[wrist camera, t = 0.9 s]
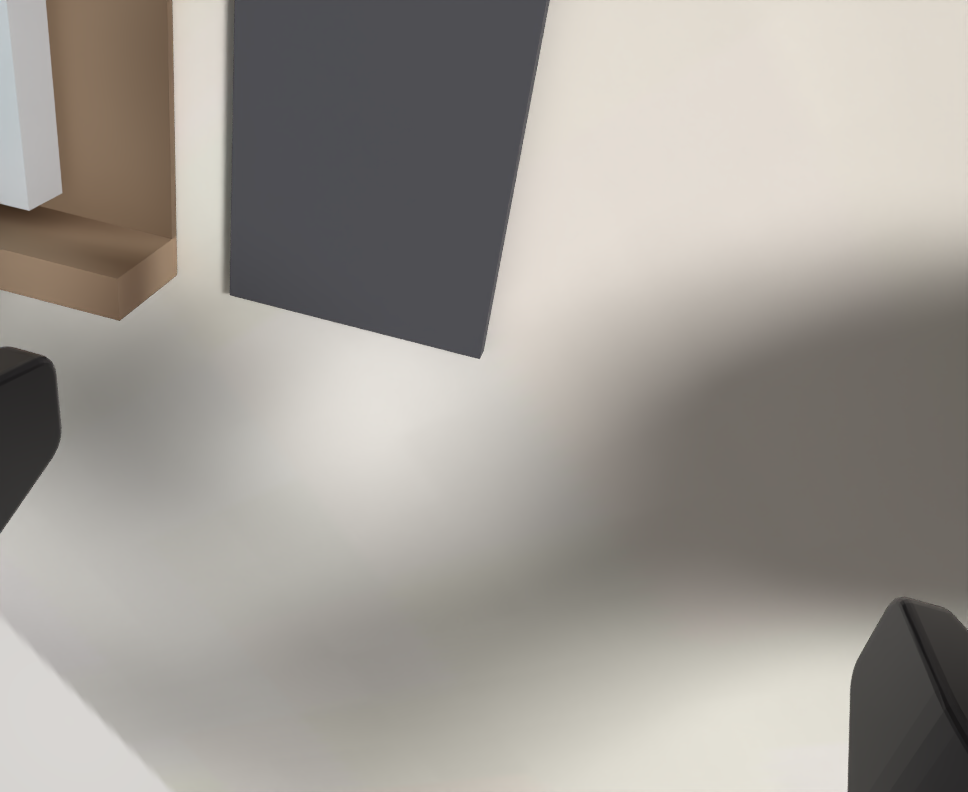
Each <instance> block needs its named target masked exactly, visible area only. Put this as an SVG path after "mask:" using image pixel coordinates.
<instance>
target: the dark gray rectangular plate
mask: <svg viewBox="0 0 968 792" xmlns="http://www.w3.org/2000/svg"><path fill="white" fill-rule="evenodd" d="M549 1H550V0H235V14H234V75H233V135H232V196H231V257H230V295H231V296H235V297H239V298H243V299H247V300H251V301H255V302H259V303H263V304H267V305H270V306H274V307H278V308H282V309H286V310H290V311H294V312H298V313H302V314H306V315H310V316H313V317H317V318H321V319H325V320H329V321H333V322H337V323H341V324H345V325H349V326H353V327H357V328H360V329H364V330H368V331H372V332H376V333H380V334H384V335H388V336H392V337H396V338H400V339H403V340H407V341H411V342H415V343H419V344H423V345H427V346H431V347H435V348H439V349H443V350H447V351H450V352H454V353H458V354H462V355H466V356H470V357H474V358H478V359H480V357H481V355H482V353H483V351H484V346H485V340H486V335H487V330H488V324H489V319H490V314H491V309H492V303H493V298H494V293H495V287H496V282H497V277H498V271H499V266H500V261H501V256H502V250H503V245H504V240H505V234H506V229H507V224H508V218H509V213H510V208H511V202H512V197H513V192H514V187H515V181H516V176H517V171H518V165H519V160H520V155H521V149H522V144H523V139H524V133H525V128H526V123H527V118H528V112H529V107H530V102H531V96H532V91H533V86H534V80H535V75H536V70H537V65H538V59H539V54H540V49H541V43H542V38H543V33H544V27H545V22H546V17H547V11H548V6H549Z"/></svg>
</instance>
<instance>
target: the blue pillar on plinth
mask: <svg viewBox="0 0 968 792" xmlns="http://www.w3.org/2000/svg"><path fill="white" fill-rule="evenodd" d="M60 194H62V182H61V171H60V159H59V148H58V136H57V125H56V113H55V102H54V90H53V79H52V67H51V56H50V44H49V33H48V21H47V10H46V0H0V204H4V205H8V206H12V207H16V208H20V209H24V210H28V211H30V210H32V209H34V208H35V207H37V206H39V205H41V204H43V203H45V202H47V201H49V200H50V199H52V198H54V197H56V196H58V195H60Z"/></svg>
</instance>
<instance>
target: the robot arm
mask: <svg viewBox="0 0 968 792" xmlns="http://www.w3.org/2000/svg"><path fill="white" fill-rule="evenodd" d="M60 438H61V418H60V408H59V397H58V386H57V375H56V370H55V367H54V365H53V363H52V362H51V360H49V359H48V358H47V357H45V356H43V355H39V354H35V353H32V352H28V351H25V350H21V349H18V348H13V347H0V533H1V532H2V530H3V529H4V527H5V526H6V525H7V523H8V522H9V520H10V519H11V517H12V516H13V514H14V513H15V511H16V510H17V509H18V507H19V506H20V504H21V503H22V501H23V500H24V498H25V497H26V496H27V494H28V493H29V491H30V490H31V488H32V487H33V485H34V484H35V483H36V481H37V480H38V478H39V477H40V475H41V474H42V472H43V471H44V469H45V468H46V467H47V465H48V464H49V462H50V461H51V459H52V458H53V456H54V454H55V453H56V450H57V448H58V446H59V442H60ZM848 792H968V630H967V629H966V628H965V627H964V625H963V624H962V623H961V622H960V621H959V620H958V619H957V618H956V617H955V616H954V615H953V614H952V613H951V612H950V611H949V610H947V609H945V608H943V607H940V606H936V605H933V604H929V603H926V602H922V601H918V600H915V599H911V598H908V597H901V598H897V599H895V600H894V601H893V602H891V603H890V605H889V606H888V607H887V609H886V610H885V612H884V614H883V616H882V617H881V619H880V621H879V623H878V624H877V626H876V628H875V630H874V631H873V633H872V635H871V637H870V638H869V640H868V642H867V644H866V645H865V647H864V649H863V651H862V652H861V654H860V656H859V658H858V660H857V662H856V664H855V667H854V670H853V674H852V679H851V686H850V719H849V757H848Z"/></svg>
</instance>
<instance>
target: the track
mask: <svg viewBox="0 0 968 792" xmlns="http://www.w3.org/2000/svg"><path fill="white" fill-rule="evenodd" d="M46 10H47V21H48V33H49V44H50V56H51V67H52V79H53V90H54V102H55V113H56V125H57V136H58V148H59V159H60V171H61V182H62V194H60V195H58V196H56V197H54V198H52V199H50V200H49V201H47V202H45V203H43V204H41V205H39V206H37V207H35V208H34V209H32V210H30V211H28V210H24V209H20V208H16V207H12V206H8V205H4V204H0V290H4V291H8V292H12V293H16V294H19V295H23V296H27V297H31V298H35V299H39V300H42V301H46V302H50V303H54V304H58V305H61V306H65V307H69V308H73V309H77V310H81V311H84V312H88V313H92V314H96V315H100V316H103V317H107V318H111V319H115V320H119V321H120V320H121V319H123V318H124V317H125V316H126V315H128V314H129V313H130V312H131V311H133V310H134V309H135V308H136V307H138V306H139V305H140V304H141V303H143V302H144V301H145V300H146V299H148V298H149V297H150V296H151V295H153V294H154V293H155V292H156V291H158V290H159V289H160V288H162V287H163V286H164V285H165V284H167V283H168V282H169V281H170V280H172V279H173V278H174V277H175V276H177V241H176V185H175V128H174V72H173V15H172V0H46Z"/></svg>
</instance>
